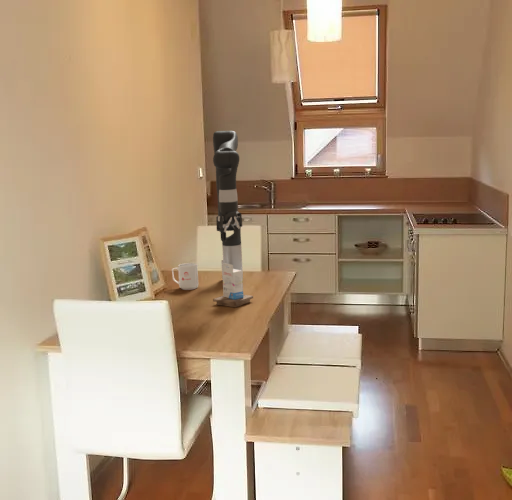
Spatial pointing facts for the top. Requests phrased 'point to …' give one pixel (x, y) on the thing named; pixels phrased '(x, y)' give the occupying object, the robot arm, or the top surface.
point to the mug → (187, 276)
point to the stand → (232, 301)
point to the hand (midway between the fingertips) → (230, 239)
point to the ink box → (232, 282)
